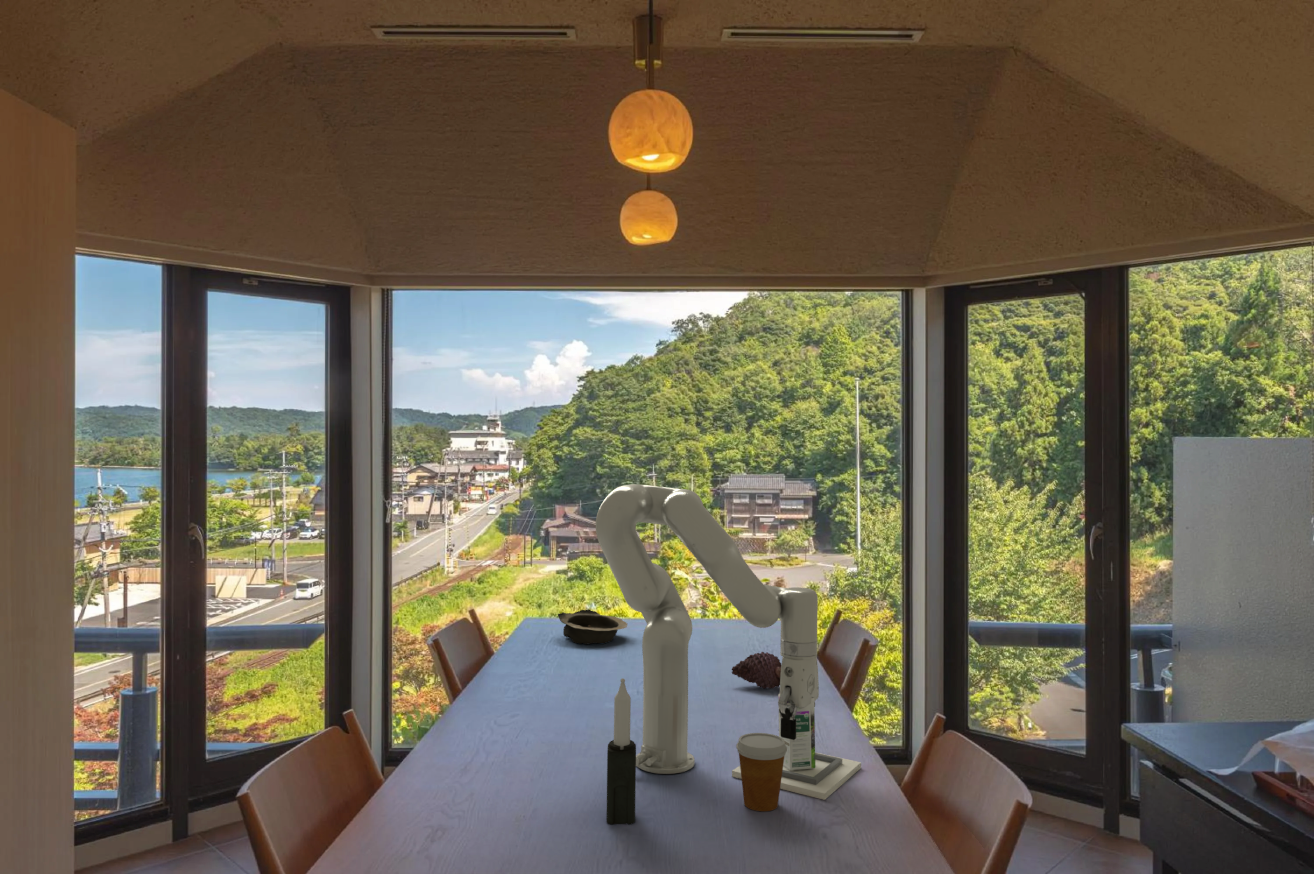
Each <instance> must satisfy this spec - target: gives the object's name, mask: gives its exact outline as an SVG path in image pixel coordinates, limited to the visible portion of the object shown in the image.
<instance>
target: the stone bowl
mask: <svg viewBox="0 0 1314 874" xmlns="http://www.w3.org/2000/svg"><path fill="white" fill-rule="evenodd" d="M557 617H558V619H559V621H560V622H561V623H562V624H564V627H563V630H562V631H563V636H564V637H566V638H569V639H571V640H572V642H573V643H575V644H577V643H579V645H582V643H583V644H584V645H592V644H600V643H605V644H606V643H609V642H612V641H613V640H614V638H615V637H616V635H617V633H618V631H619V630H623V629H626V628H628V623H627V622H626V621H625V620H623V619H622V618H619V617H616V616H612V615H605V614H604V615H602V614H600V613H599V612H597V611H594V610H591V609H580V610H579V611H576V612H573V613H571V612H569V613H568V612H561V613H557Z"/></svg>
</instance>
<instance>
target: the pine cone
mask: <svg viewBox="0 0 1314 874" xmlns="http://www.w3.org/2000/svg"><path fill="white" fill-rule="evenodd" d="M780 661H781V660H780V659H779V658H778V656H776V655H775V654H773V653H769V652H764V651H761V653H759V652H756V653H753V654H749V656H746V658H744V660H740V661H739V662H738V663H737V664H735V665H734V666H732V668H731V673H732V675H734V676H737V677H738V678H741V679H742V680H744V681H746V682H748V683H751V684H756V686H757V687H759V688H762V689H771V690H772V689H774V688H776V687H777V688H778V687H780V676H781V665H782V662H780Z"/></svg>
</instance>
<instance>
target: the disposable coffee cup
mask: <svg viewBox="0 0 1314 874" xmlns="http://www.w3.org/2000/svg"><path fill="white" fill-rule="evenodd" d="M735 747H736V750H737V753H738V757H739V758H738V759H739V766H740V769H741V778H742V779H741V786H742V787H741V788H742V794H743V804H744V807H746V808H748V809H750V810H752V811H755V812H756V811H757V812H770V811H774V810H775V809H777V808H778V807H779V805H778V804H779V799H780V791H781V789H780V786H781V778H782V770H783V763H784V756H785V754H786V752H787V747H786V746H785V741H784V739H783V738H781V737H779V735H776V734H772V733H767V732H749V733H745V734H743V735H740V736H739V737H738V742H737V743H736V746H735Z"/></svg>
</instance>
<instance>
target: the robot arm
mask: <svg viewBox="0 0 1314 874" xmlns="http://www.w3.org/2000/svg"><path fill="white" fill-rule="evenodd" d="M638 523H645V524H653V525H665V526H667V527H668V528H669V529H670V530H671V531H672V533H674V535H675V536H676V537H677V538H678V539H679V540H680V542H681V543H683V545H684V546H685V547H686V549H688V551H689V552H690V553H691V554H692V555H693V557H694V558H695V559H696V560H697V562H699V563H700V565H701V566H702V567H703V569H704V570H705V571H706V573H707V575H708V577H710V578H711V580H713V582H714V583H715V584H716V585H717V587H718V588H719V589H720V591H721V592H722V593H723V595H724V596H725V598H727V600H728V601H729V602H730V604H731V605H732V606H733V607H734V608H735V609H736V610H737V611H738V612H739V614H740V615H741V616H742V617H743V619H745V620H746V621H747V623H749V624H751V625H752V626H753V627H756V628H760V629H762V628H763V629H764V628H765V629H766V628H770V627H772V626H773V625H774V624H775V623H777V621H778V620H780V653H779V654H780V656H781V659H782V660H781V676H780V685H779V694H780V699H779V700H778V701H777V705H779V706H778V713H779V712H780V718H781V737H783V738H787V739H792V740H795V739H796V719H794V718H795V715H796V711H797V707H799V708H801V709H802V708H804V707H806V706H808V705H809V704H811V699H812V697H814V709H815V707H816V701H817V700H818V699H819V696H820V693H819V691H820V689H819V688H820V687H819V666H818V659H817V658H818V610H819V609H818V607H819V606H818V605H819V604H818V600H819V599H818V594H817V592H816V591H815V590H814V589H811V588H808V587H798V586H797V587H780V586H775V585H770V584H764V583H763V582H762V581H761V580H760V578H759V577H758V576H757V575H756V574H755V573H754V571H752V569H751V568H750V566H749V565H748V563H747V562H746V561H745V559H744V558H743V556H742V554H741V551H740V549H739V547H738V545H737V543H736V542H735V540H734V539H733V538H732V537H731V536H730V534H729V533H728V532H727V531H726V530H725V529H724V527H722V526H721V525H720V523H719V522H718V521H717V520H716V519H715V517H714V516H713V515H712V514H711V513H710V512H709V510H708V509H707V508H706V507H705V506H704V504H703V501H702V498H701V497H700V496H699V495H698V494H697V493H696V492H695V491H694V490H690V489H686V488H675V487H664V486H656V485H647V484H641V483H639V484H638V483H631V484H624V485H620V486H618V487H616V488H614V489H613V490H612V491H611V492H610V493H608V495H607V496H606V497H605V498H604V500H603V501H602V503H601V504H600V506H599V509H598V511H597V514H596V518H595V533H596V539H597V542H598V543H599V546H600V549H601V551H602V553H603V555H604V558H606V561H607V563H608V565H609V568H610V570H611V572H612V575H613V577H614V579H615V581H616V582H617V584H618V588H620V592H621V593H622V595H623V596H622V597H623V598H624V600H625V602H626V603H627V605H628V606H629V607H630V609H632V610H634V611H636V612H638V613H641V615H642V617H643V619H644V622H645V623H646V626H645V628H644V630H643V635H642V643H641V647H642V664H643V665H642V666H643V668H642V669H643V671H642V672H643V681H642V682H643V683H642V684H643V685H642V686H643V687H642V690H643V693H642V695H643V697H642V698H643V699H642V701H643V702H642V745H641V746H640V752H639V753H636V768H638V769H641V770H643V771H645V772H648V773H652V774H660V775H674V774H675V775H676V774H680V773H681V774H682V773H684V772H687V771H689V770H691V769H692V768H693V767H695V765H696V764H695V761H696V759H695V756H694V755H693V754H691V753H690V752H688V741H689V740H688V739H689V738H688V737H689V736H688V734H689V733H688V732H689V731H688V730H689V726H688V725H689V724H688V722H689V642H690V640H691V637H692V634H693V622H692V619H691V616H690V614H689V612H688V610H687V608H686V606H685V604H684V602H683V600H682V598H681V596H680V594H679V592H678V590H677V587H676V586H675V584H674V582H673V580H672V578H671V576H670V575H669V573H668V572H667V570H665V568H664V567H662V566H660V565H659V564H657V563H653V561H652V560H651V558H650V556H649V554H648V551H647V549H646V547H645V545H644V543H643V542H642V540H641V538H640V536H639V535H638V533H637V529H636V526H637V524H638ZM788 700H790V701H792V702H793V703H794V704H792V703H788ZM787 707H788V708H787ZM789 708H792V711H791V712H790V710H789Z"/></svg>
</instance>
